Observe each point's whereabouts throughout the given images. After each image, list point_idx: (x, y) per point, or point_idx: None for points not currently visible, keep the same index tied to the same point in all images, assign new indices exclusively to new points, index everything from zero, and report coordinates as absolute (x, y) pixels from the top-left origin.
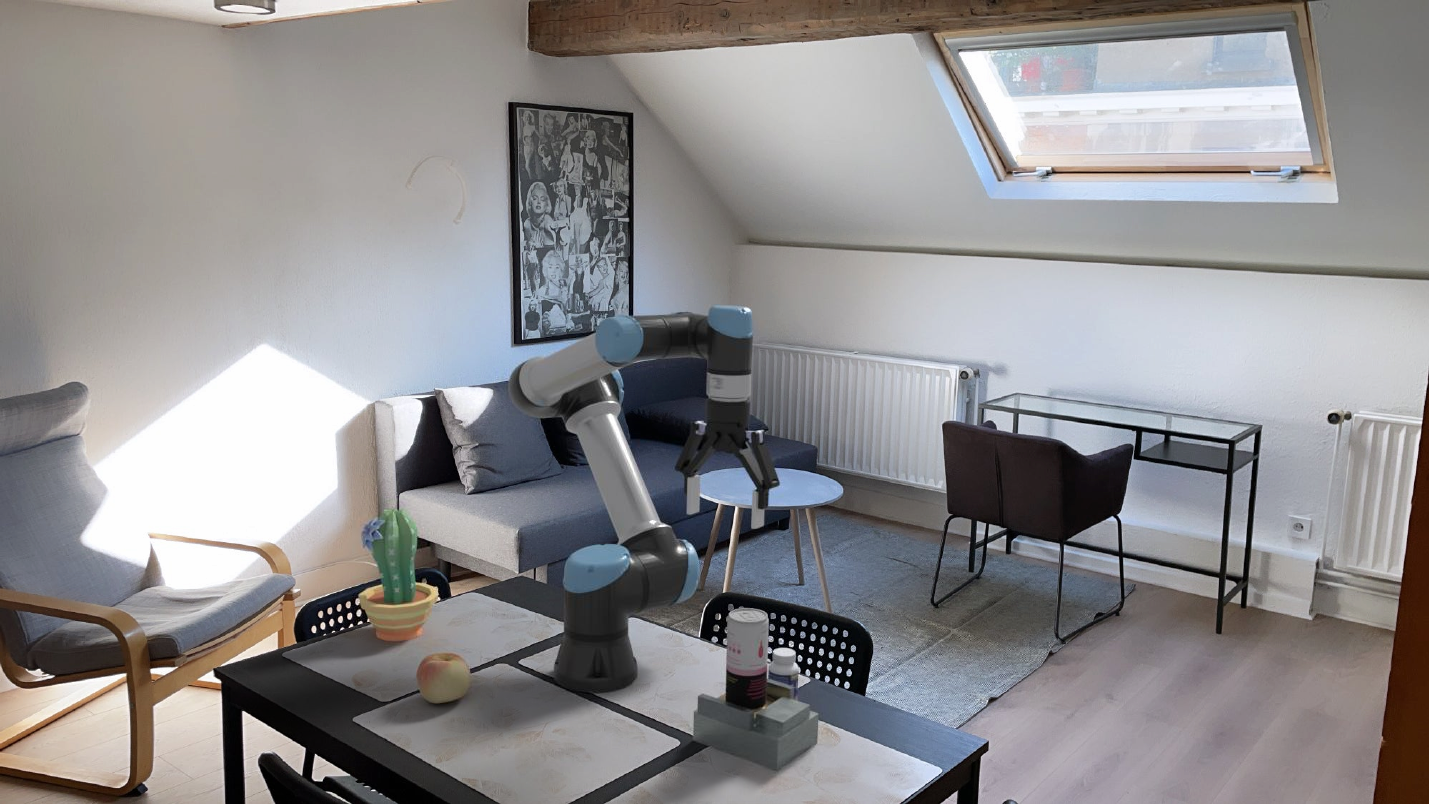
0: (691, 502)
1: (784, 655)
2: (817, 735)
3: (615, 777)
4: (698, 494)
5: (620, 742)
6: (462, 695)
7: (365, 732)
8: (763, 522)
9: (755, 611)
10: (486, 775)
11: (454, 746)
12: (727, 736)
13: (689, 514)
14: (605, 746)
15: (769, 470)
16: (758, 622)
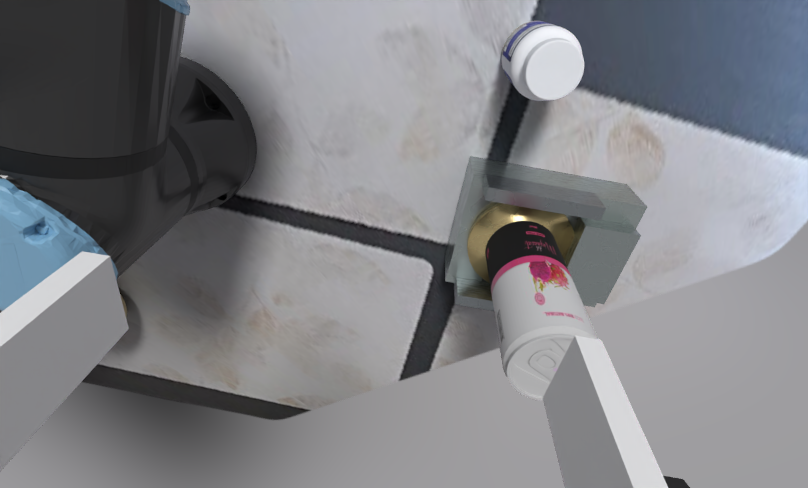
0: (75, 379)
1: (560, 92)
2: (631, 190)
3: (405, 353)
4: (12, 353)
5: (363, 294)
6: (124, 301)
7: (126, 374)
8: (606, 358)
9: (564, 341)
10: (292, 390)
11: (219, 364)
12: None
13: (124, 328)
14: (353, 308)
15: None
16: None
